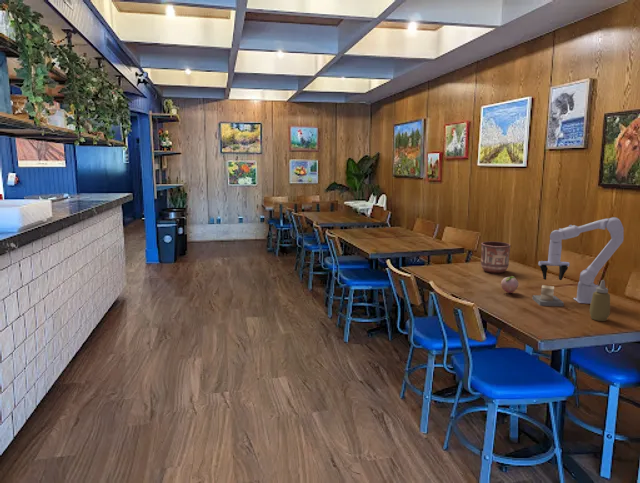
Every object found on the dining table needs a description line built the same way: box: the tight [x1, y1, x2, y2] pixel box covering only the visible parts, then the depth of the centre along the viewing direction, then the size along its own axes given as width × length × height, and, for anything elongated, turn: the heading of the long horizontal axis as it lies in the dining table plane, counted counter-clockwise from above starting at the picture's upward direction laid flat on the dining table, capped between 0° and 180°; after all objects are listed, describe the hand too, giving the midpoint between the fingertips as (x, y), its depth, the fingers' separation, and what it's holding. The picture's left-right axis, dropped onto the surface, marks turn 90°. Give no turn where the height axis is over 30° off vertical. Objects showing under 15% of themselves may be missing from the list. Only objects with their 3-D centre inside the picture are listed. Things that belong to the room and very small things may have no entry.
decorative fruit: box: [500, 275, 519, 294], centre depth 244 cm, size 9×8×10 cm
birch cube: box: [540, 284, 555, 301], centre depth 229 cm, size 6×6×6 cm
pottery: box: [480, 240, 511, 274], centre depth 292 cm, size 18×18×18 cm
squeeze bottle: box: [588, 279, 611, 322], centre depth 204 cm, size 8×8×18 cm
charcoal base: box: [532, 294, 565, 307], centre depth 230 cm, size 11×11×2 cm
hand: (552, 279), depth 237 cm, fingers open, 7 cm apart
